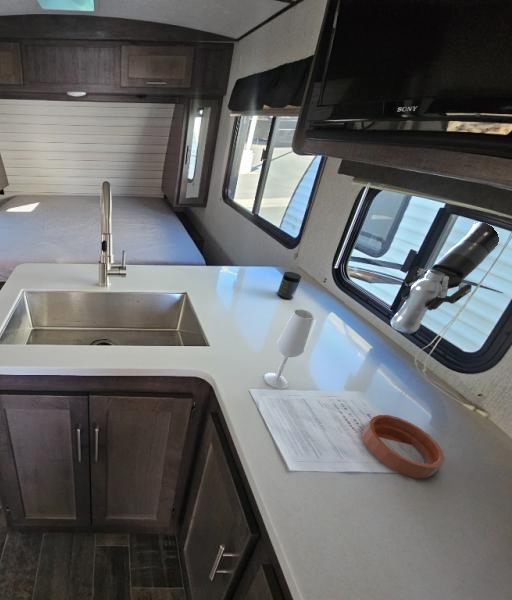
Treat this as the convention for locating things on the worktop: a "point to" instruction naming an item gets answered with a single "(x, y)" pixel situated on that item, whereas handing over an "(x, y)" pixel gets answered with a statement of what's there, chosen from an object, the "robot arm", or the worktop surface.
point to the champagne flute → (291, 344)
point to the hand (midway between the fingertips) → (415, 302)
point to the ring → (405, 434)
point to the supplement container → (288, 285)
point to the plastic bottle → (418, 302)
